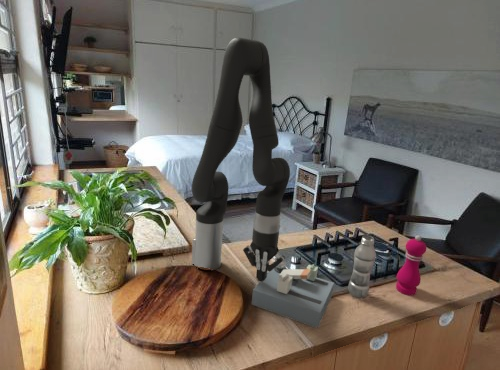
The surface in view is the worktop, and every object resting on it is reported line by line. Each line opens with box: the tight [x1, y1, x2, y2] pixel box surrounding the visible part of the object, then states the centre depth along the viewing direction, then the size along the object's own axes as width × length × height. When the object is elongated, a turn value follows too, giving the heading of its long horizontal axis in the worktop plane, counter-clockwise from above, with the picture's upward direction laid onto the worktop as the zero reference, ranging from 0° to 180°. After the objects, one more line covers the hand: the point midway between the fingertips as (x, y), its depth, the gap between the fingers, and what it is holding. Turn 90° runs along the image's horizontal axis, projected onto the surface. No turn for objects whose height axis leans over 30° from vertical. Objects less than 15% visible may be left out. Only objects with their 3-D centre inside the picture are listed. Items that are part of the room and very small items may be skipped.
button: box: [276, 259, 287, 271], centre depth 114 cm, size 3×3×2 cm
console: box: [251, 267, 335, 329], centre depth 107 cm, size 20×17×6 cm
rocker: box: [279, 268, 311, 279], centre depth 108 cm, size 9×5×1 cm, turn 65°
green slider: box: [305, 263, 319, 281], centre depth 110 cm, size 3×3×4 cm
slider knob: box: [277, 274, 293, 294], centre depth 103 cm, size 3×4×4 cm
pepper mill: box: [395, 234, 427, 296], centre depth 115 cm, size 7×7×20 cm
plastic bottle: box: [347, 235, 377, 299], centre depth 110 cm, size 6×7×20 cm
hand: (261, 280), depth 106 cm, fingers closed
